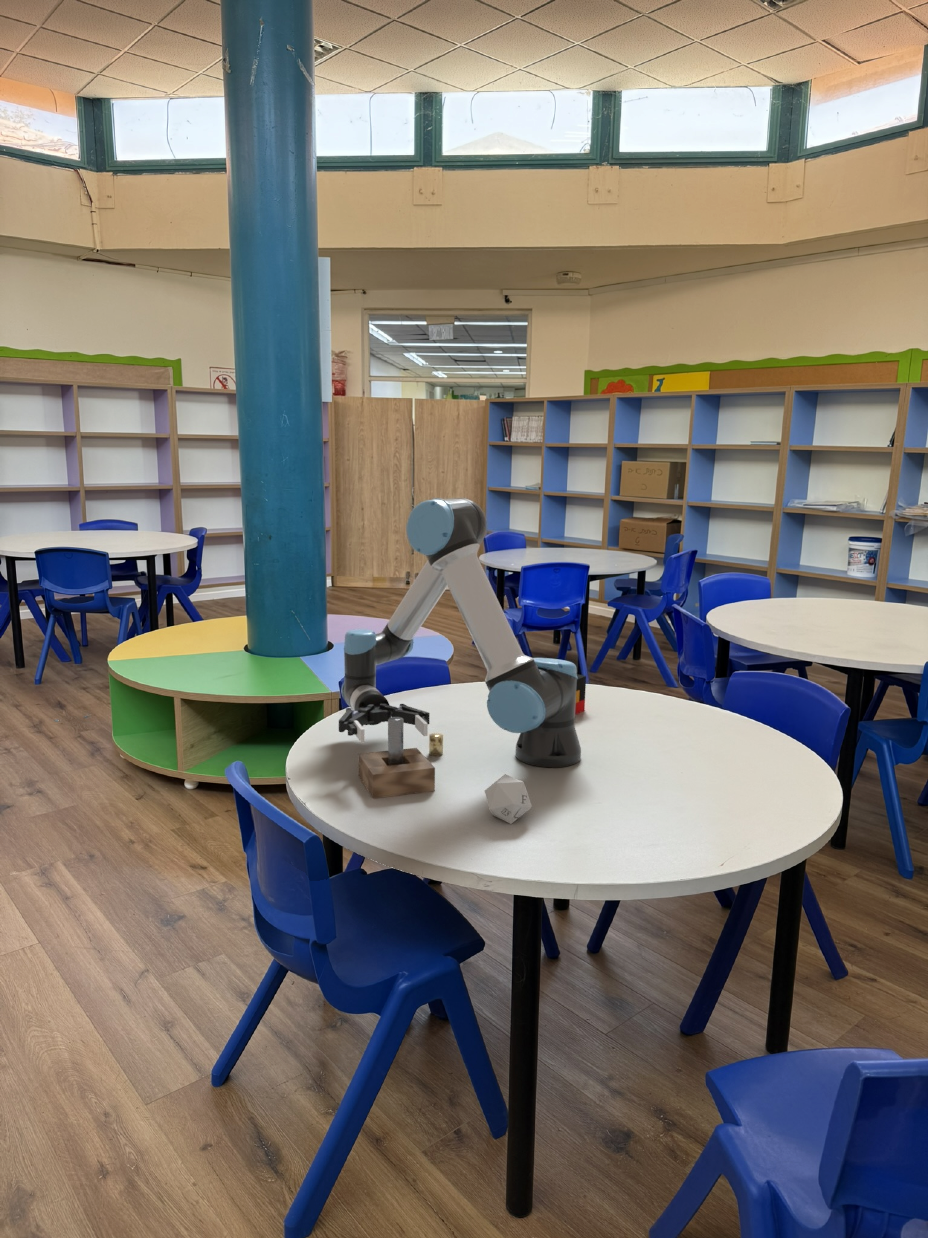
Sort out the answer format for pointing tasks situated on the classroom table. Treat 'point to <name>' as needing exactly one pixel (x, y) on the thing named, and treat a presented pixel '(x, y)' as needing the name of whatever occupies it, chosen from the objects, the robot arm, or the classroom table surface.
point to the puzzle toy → (580, 694)
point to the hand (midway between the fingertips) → (394, 732)
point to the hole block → (396, 774)
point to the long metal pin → (395, 741)
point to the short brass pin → (435, 744)
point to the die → (508, 798)
